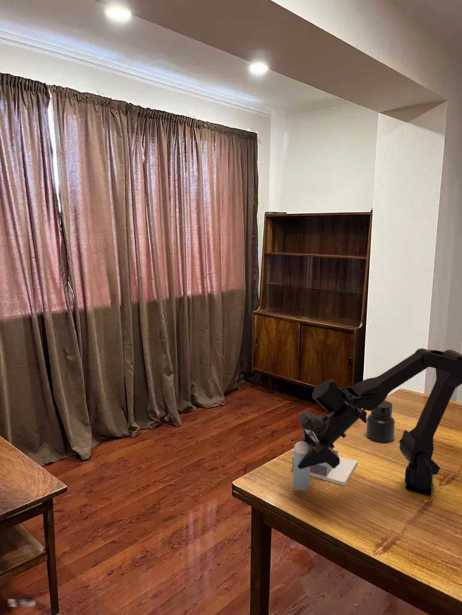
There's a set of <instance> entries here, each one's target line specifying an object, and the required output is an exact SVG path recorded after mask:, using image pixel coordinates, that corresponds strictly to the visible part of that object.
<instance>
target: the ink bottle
mask: <svg viewBox="0 0 462 615" xmlns="http://www.w3.org/2000/svg"><path fill="white" fill-rule="evenodd" d="M366 419H367V422H366V432H365V433H366V437H367V438H368V439H370V440H372V441H375V442H377V443H389V442H391V441H393V440H394V439H395V427H396V424H395V423H396V421H395V419H394V418H393V403H392V402H390V401H388V400H385V401H384V402H382V403H381V404H380V405H379V406H378V407H377V408H376V409H374V410H372V411H370V414H369V415H367V416H366Z"/></svg>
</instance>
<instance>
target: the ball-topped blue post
mask: <svg viewBox="0 0 462 615" xmlns="http://www.w3.org/2000/svg"><path fill="white" fill-rule="evenodd" d="M309 451H310V446H309V445H308V443H306V442H304V441H302V440H300V441H297V442H296V443H295V444H294V446H293V457H294V461H293V460H292V468H293V469H292V470H293V471H292V472H293V475H292V477H293V478H292V480H293V482H292V486H293V488H294V489H296V490H297V491H306V490H308V489H309V488H310V487H311V486H310V485H311V476H310V466H309V467H306V468H303V469H299V468H298V464H299V463H300V462H301V461H302V459H303V458H304V457H305V456H306V455H307V453H308V452H309Z"/></svg>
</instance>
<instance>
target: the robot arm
mask: <svg viewBox="0 0 462 615" xmlns="http://www.w3.org/2000/svg"><path fill="white" fill-rule="evenodd" d="M428 368H431V369H432V368H433V369H435V378H436V379H435V382H434V384H433V387H432V388H431V391H430V393H429V396H428V398H427V400H426V403H425V405H424V407H423V410H422V412H421V414H420V416H419V419H418V420H417V423H416V425H415V427H414V428H413V429H411V430H410V431H409V430H407V429H405V430H403V433H402V437H401V438H400V440H398V443H399V451H400V453H401V454H402V455H403V456H404V457H405V459H406V460H407V461H408V465H407V466H406V468H405V473H404V484H405V488H404V489H405V490H406V491H409V492H414V493H416V494H417V493H418V494H420V495H421V494H422V495H424V496H428V497H431V496H432V493H433V489H434V484H435V483H434V476H435V475H439V474H438V473H440V472H439V471H440V468H441V467H440V466H439V465H438V464H437V462H436V461H434V460H433V459H432V458H433V454H434V450H435V449H434V443H435V442H434V436H435V434H436V432H437V430H438V428H439V425H440V423H441V421H442V419H443V416H444V414H445V412H446V409H447V408H448V405H449V403H450V401H451V399H452V397H453V394H454V392H455V390H456V389H457V388H458V387H460V386H461V385H462V353H460V352H457V351H456V350H454V349H447V350H444V351H442V350H437V349H426V348H424V347H423V348H418V349H416V350H415V352H414V353H412V354H411V355H409V356H408V357H406V358H405V359H403V360H402V361H400V362H398V363H397V364H396V365H394V366H392V367H390V368H389V369H387V370H386V371H384V372H383V373H382V374H380V375H377V376H374V377H370V378H366V379H364V380H361V381H359V382H357V383H355V384H354V385H352V386H346V387H339V386H338V384H337V383H336V382H335V381H334V380H333V379H331V378H329V379H328V380H327V381H323V382H322V383H318V384H317V385H316V387H314V389H313V391H312V394H311V397H312V399H314V401H316V403H317V404H319V406H321V407H322V408H323V409H324V410H325V411H326V412H328V413H330V414H329V415H327V414H323V415H322V416H318V415H316V414H315V413H313V412H309V411H306V410H304V409H303V410H302V412H301V414H300V416H299V417H298V420H297V421H298V423H299V424H300V427H301V428H302V439H301V441H304V442H306V443H308V445H309V446H310V451H309V452H308V453H307V455H306V456H305V457H304V458H303V459H302V461H301V462H300V463H299V464H298V468H299V469H303V468H306V467H309V466H313V465H316V464H321V463H328V464H329V465H330V466H331V467H332V468H333V469H335V468H336V467H337V466H338V465H339V464H340V458H339V457H340V456H339V454H338V455H337V453H336V452H335V451H334V450H335V449H334V448H335V445H334V444H335V442H336V441H338V439H339V438H340V437H341V438H342V439H345V437H347V435H346V432H347V431H348V430H349V429H350V428H351V427H352V426H353V425H354V424H355V423H357V421H358V420H359V419H360V420H361V421H362V423H364V424H367V416H368V415H367V413H368V412H367V411H369V412H371V411H372V410H374V409H376V408H377V407H378V406H379V405H380V404H381V403H382V402H384V401H386V399H387V397H388V395H389V394H390V393H391V392H392V391H395V389H396V388H398V387H400V386H402V385H403V384H404V383H406V382H407V381H409V380H411V379H412V378H414V377H415V376H417V375H420V373H422V372H423V371H425V370H426V369H428ZM347 401H348V402H347ZM338 456H339V457H338Z"/></svg>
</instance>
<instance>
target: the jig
mask: <svg viewBox="0 0 462 615" xmlns="http://www.w3.org/2000/svg"><path fill="white" fill-rule="evenodd" d="M333 450H334V451H335V452H336V453H337V455H338V457H339V458H340V464H339V465H338V466H337V467H336V468H335V469H333V468H332V467H331V466H330V465H329V464H328V463H321V464H316V465H313V466H310V477H313V478H316V479H318V480H319V479H320V480H324V481H326V482H330V483H334V484H337V485H341V486H343V487H345V486H346V484H347V482H348V481H349V479H350V477H351V476H352V474H353V472H354V470H355V468H356V467H357V465H358V460H354V459H351V458H346V457H342V456H339V451H338V450H335V449H333ZM293 461H294V456H292V462H293Z"/></svg>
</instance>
